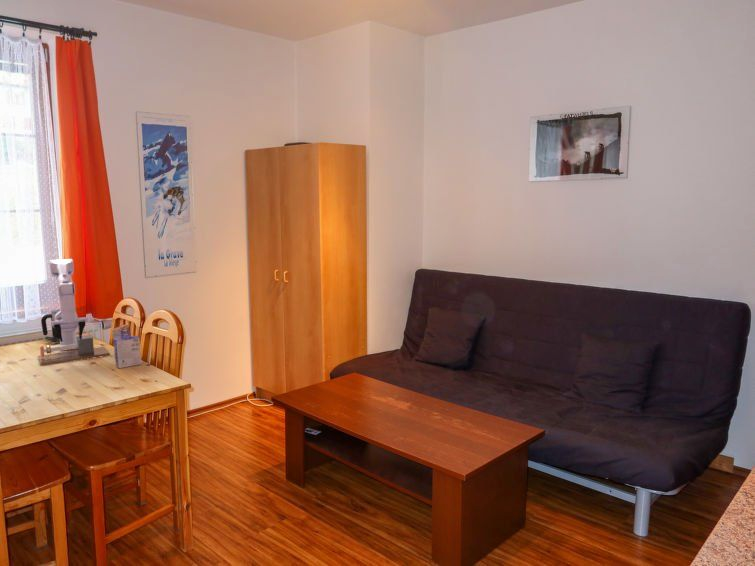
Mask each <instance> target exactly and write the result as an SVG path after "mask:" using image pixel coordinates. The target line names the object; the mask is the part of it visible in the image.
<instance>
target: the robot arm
mask: <svg viewBox="0 0 755 566" xmlns="http://www.w3.org/2000/svg"><path fill="white" fill-rule="evenodd" d="M49 271H50V275H51V276H52V277H54V278H56V280H57V294H58V298H59V307H60V308H59V309H61V310H60V311H59V312H58V313H57V314H56V315H55V321H51V320H50V326H51V327H52V326H54V328H55V329H56V331H57V333H58V335H59V338H60V342H59V344H60V345H59V346H62V345H70V344H77V339H76V337H77V329H78V336H79V338H80V339H82V336H83V332H84V330H85V326H86V323H88V322H89V321H88V320H89V319H88V317H78V314H77V311H76V299H75V296H76V285H75V283H74V282H73V278H72V276H73V275H74V271H75V268H74V260H73V259H72V258H65V259H63V258H62V259H50V260H49ZM59 317H61V318H59ZM70 350H71V349H68V350H67V351H70ZM74 350H77V348H75V349H74ZM61 351H62V352H63V351H64V350H60V352H61Z"/></svg>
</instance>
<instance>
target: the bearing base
mask: <svg viewBox="0 0 755 566" xmlns="http://www.w3.org/2000/svg"><path fill="white" fill-rule="evenodd" d="M93 338H94V337H93V336H92V335H91V334H86V335H82V339H80V338H79V335H78V336H76V339H77V343H78V347H79V348H77V349H76V350H71V351H70V350H68V351H64V352H63V351H62V352H56V353H50V354H44V357H41V355H37V359H38V362H39V365H40V366H46V365H53V364H55V365H56V364H62V363H66V362H73V361H74V360H75V361H82V360H88V359H87V358H89V359H94V358H93V357H96V358H101V357H100V356H103V357H108V355H109V356H110V355H111V354H110V351H109V350H107V348H106V347H105V346H100V347H99V346H98V347H94V339H93ZM81 359H82V360H81ZM75 361H74V362H75Z"/></svg>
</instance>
